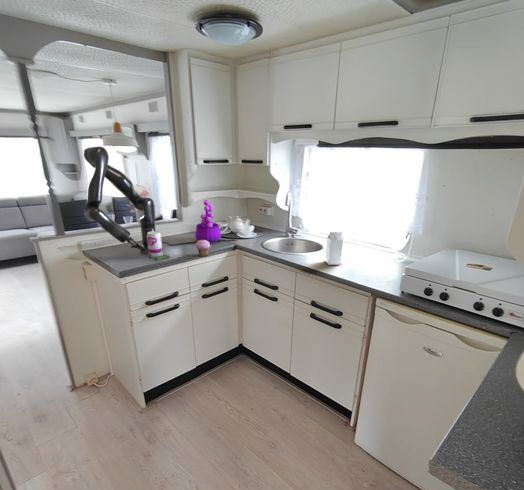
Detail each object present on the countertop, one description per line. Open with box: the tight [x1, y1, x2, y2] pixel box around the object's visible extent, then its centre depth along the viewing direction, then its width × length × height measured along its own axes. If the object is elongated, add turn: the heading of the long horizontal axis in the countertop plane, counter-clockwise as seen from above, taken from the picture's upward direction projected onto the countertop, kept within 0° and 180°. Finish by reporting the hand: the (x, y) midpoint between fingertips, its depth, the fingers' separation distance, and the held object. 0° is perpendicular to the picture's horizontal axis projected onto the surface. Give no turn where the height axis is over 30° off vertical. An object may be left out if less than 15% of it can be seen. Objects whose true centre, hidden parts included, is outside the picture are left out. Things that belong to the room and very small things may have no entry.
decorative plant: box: [194, 199, 222, 244], centre depth 232 cm, size 19×18×30 cm
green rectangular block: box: [153, 254, 170, 261], centre depth 199 cm, size 8×4×1 cm, turn 136°
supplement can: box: [147, 230, 164, 259], centre depth 201 cm, size 8×8×15 cm
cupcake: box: [195, 240, 211, 257], centre depth 205 cm, size 9×9×10 cm
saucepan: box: [130, 245, 149, 255], centre depth 212 cm, size 19×11×4 cm, turn 76°
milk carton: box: [325, 231, 344, 266], centre depth 192 cm, size 7×7×19 cm
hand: (143, 250), depth 198 cm, fingers closed
